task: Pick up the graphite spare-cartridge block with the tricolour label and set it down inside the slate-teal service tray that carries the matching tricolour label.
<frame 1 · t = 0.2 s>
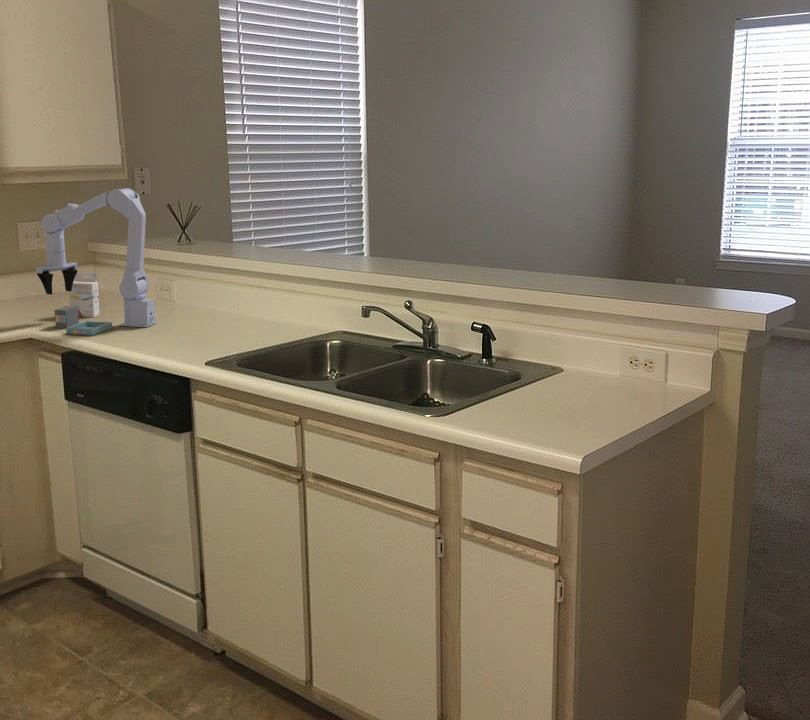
hand: (59, 292, 300), 10 cm above the table, fingers open, 7 cm apart
ink cartridge box: (85, 316, 313), on the table
service tray: (89, 331, 288), on the table
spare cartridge: (67, 326, 295), on the table
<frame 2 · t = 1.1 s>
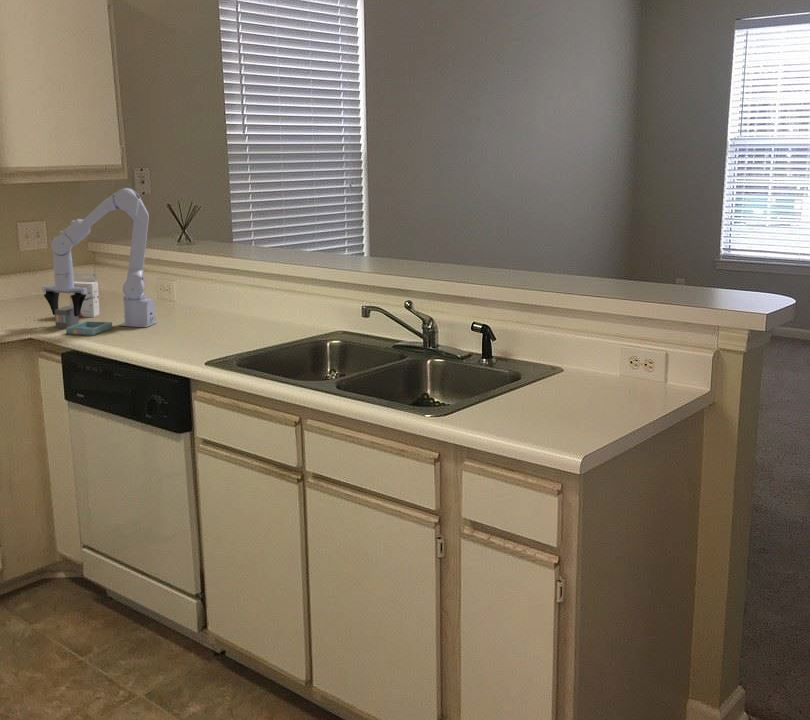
hand: (66, 315, 295), 4 cm above the table, fingers open, 7 cm apart
nothing on the table moved.
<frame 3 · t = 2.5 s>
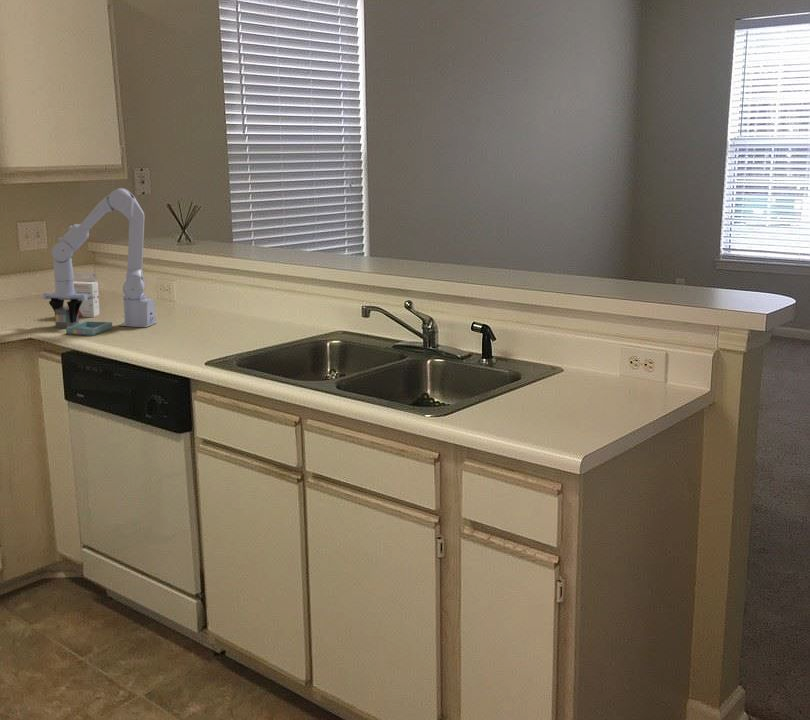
hand: (67, 321, 295), 1 cm above the table, fingers closed on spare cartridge, 4 cm apart
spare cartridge: (67, 326, 295), on the table, touching gripper
everything else where it was.
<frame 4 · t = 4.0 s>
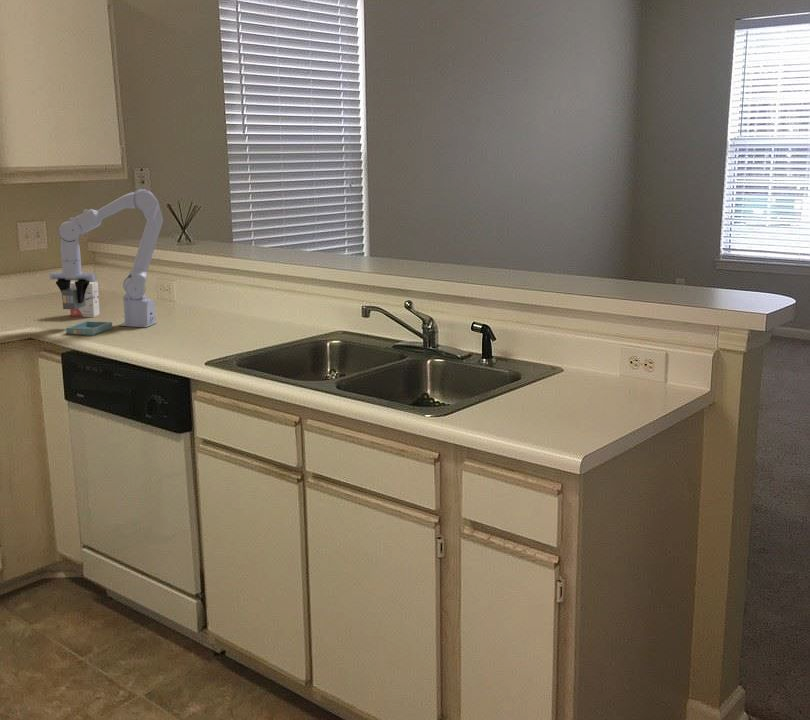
hand: (74, 302, 291), 8 cm above the table, fingers closed on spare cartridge, 4 cm apart
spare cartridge: (74, 307, 291), point 7 cm above the table, touching gripper
everything else where it was.
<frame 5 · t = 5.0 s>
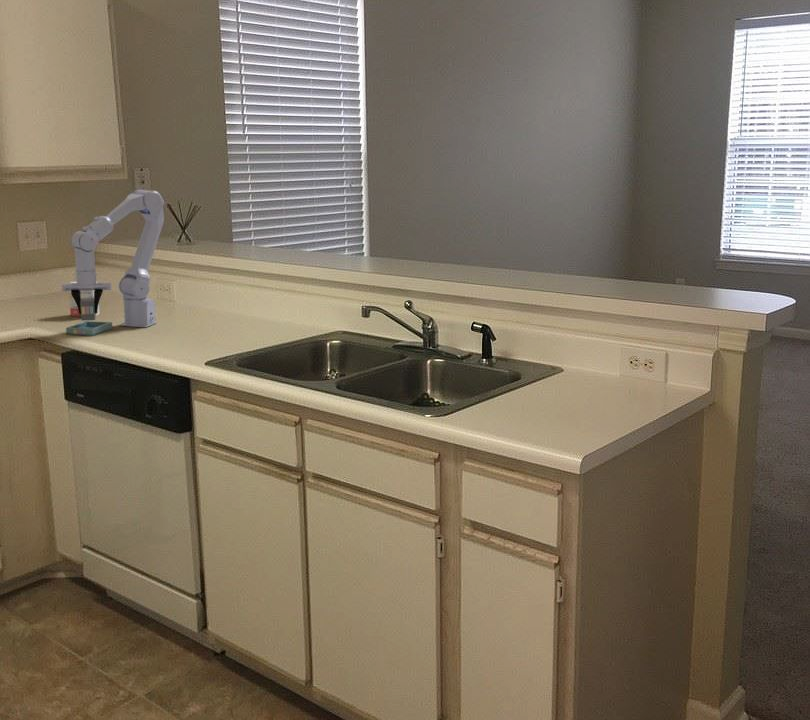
hand: (88, 313, 287), 6 cm above the table, fingers closed on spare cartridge, 4 cm apart
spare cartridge: (88, 318, 287), point 4 cm above the table, touching gripper
everything else where it was.
when the fingers open (3 cm above the table, at t = 5.9 s): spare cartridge stays where it is, resting on service tray.
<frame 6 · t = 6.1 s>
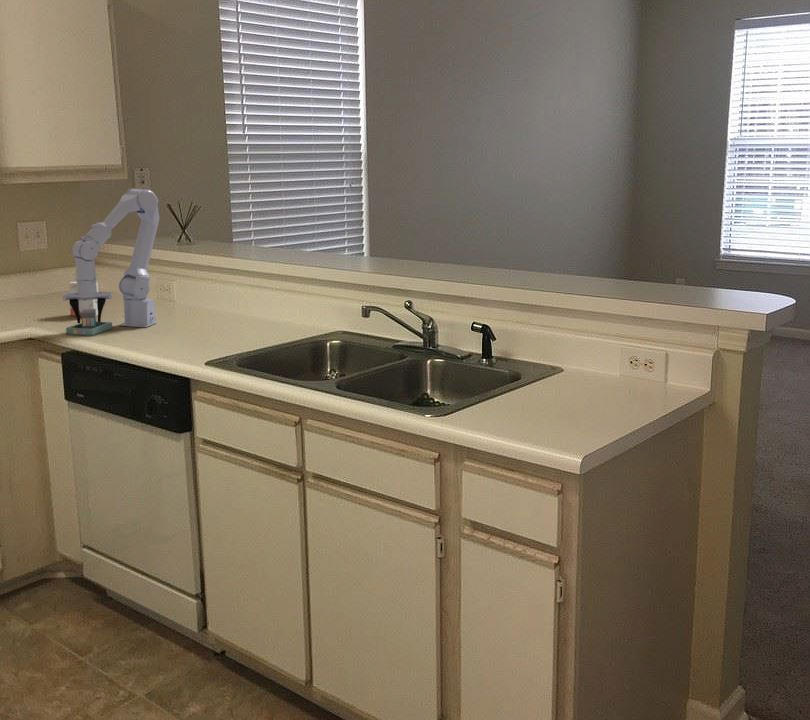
hand: (89, 322, 288), 3 cm above the table, fingers open, 5 cm apart
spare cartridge: (89, 329, 288), resting on service tray
everything else where it was.
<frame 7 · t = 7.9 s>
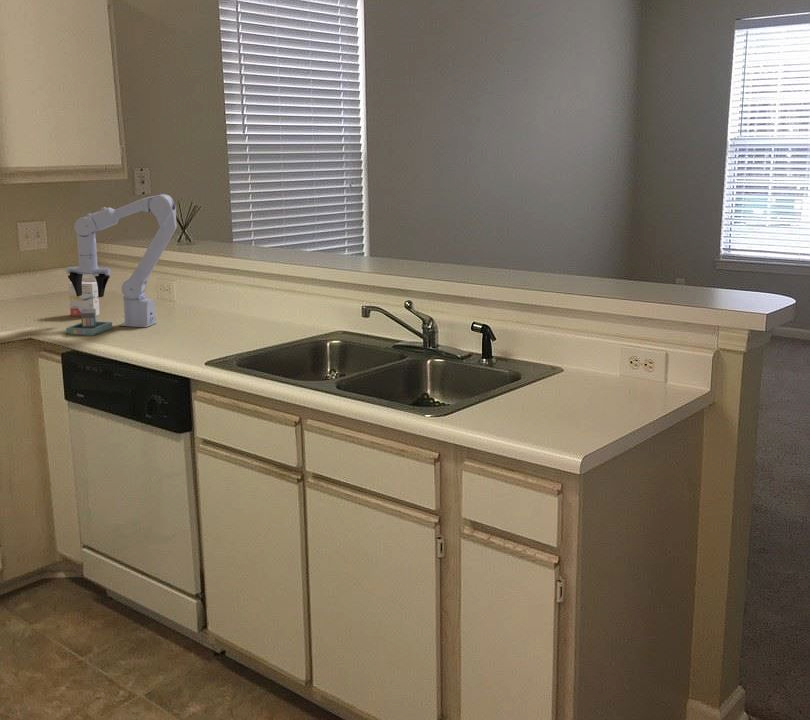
hand: (90, 296, 296), 9 cm above the table, fingers open, 7 cm apart
nothing on the table moved.
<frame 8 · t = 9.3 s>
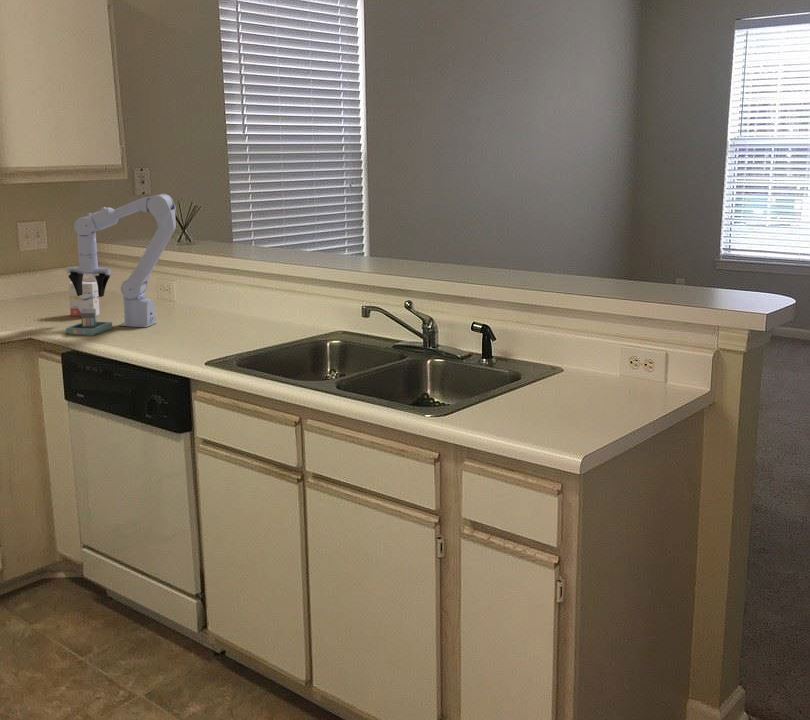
hand: (90, 295, 297), 9 cm above the table, fingers open, 7 cm apart
nothing on the table moved.
at the end: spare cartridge 0.1 cm off-centre on the service tray, point 0.5 cm above the service tray's base; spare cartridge tilted 0°; the gripper is holding nothing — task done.
